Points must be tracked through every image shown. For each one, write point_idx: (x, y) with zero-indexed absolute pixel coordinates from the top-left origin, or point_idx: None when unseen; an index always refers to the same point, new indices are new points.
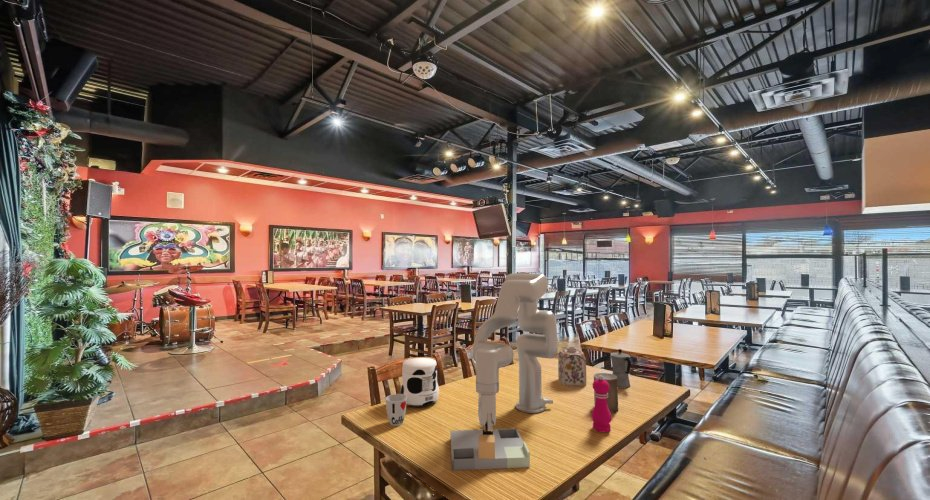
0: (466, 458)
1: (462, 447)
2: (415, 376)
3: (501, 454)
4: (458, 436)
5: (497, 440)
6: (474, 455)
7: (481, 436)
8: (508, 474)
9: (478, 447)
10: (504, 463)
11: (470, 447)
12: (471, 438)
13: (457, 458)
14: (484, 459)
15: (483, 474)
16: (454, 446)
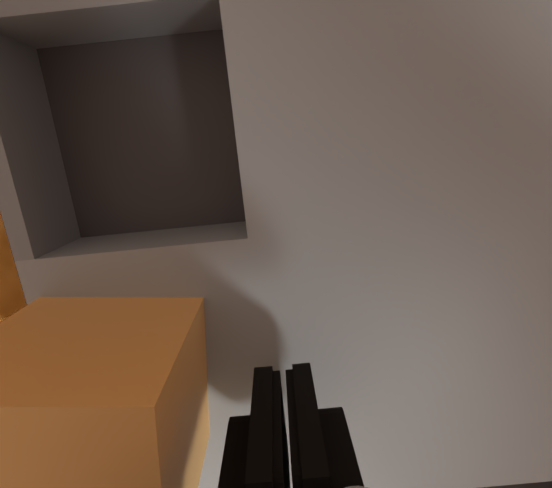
0: (222, 161)
1: (258, 115)
2: None
3: None
4: (547, 46)
5: (405, 463)
6: (93, 255)
7: (91, 448)
8: None
9: (263, 293)
10: None
11: (259, 210)
12: (471, 216)
13: (215, 72)
14: None
15: (10, 301)
16: (280, 5)
